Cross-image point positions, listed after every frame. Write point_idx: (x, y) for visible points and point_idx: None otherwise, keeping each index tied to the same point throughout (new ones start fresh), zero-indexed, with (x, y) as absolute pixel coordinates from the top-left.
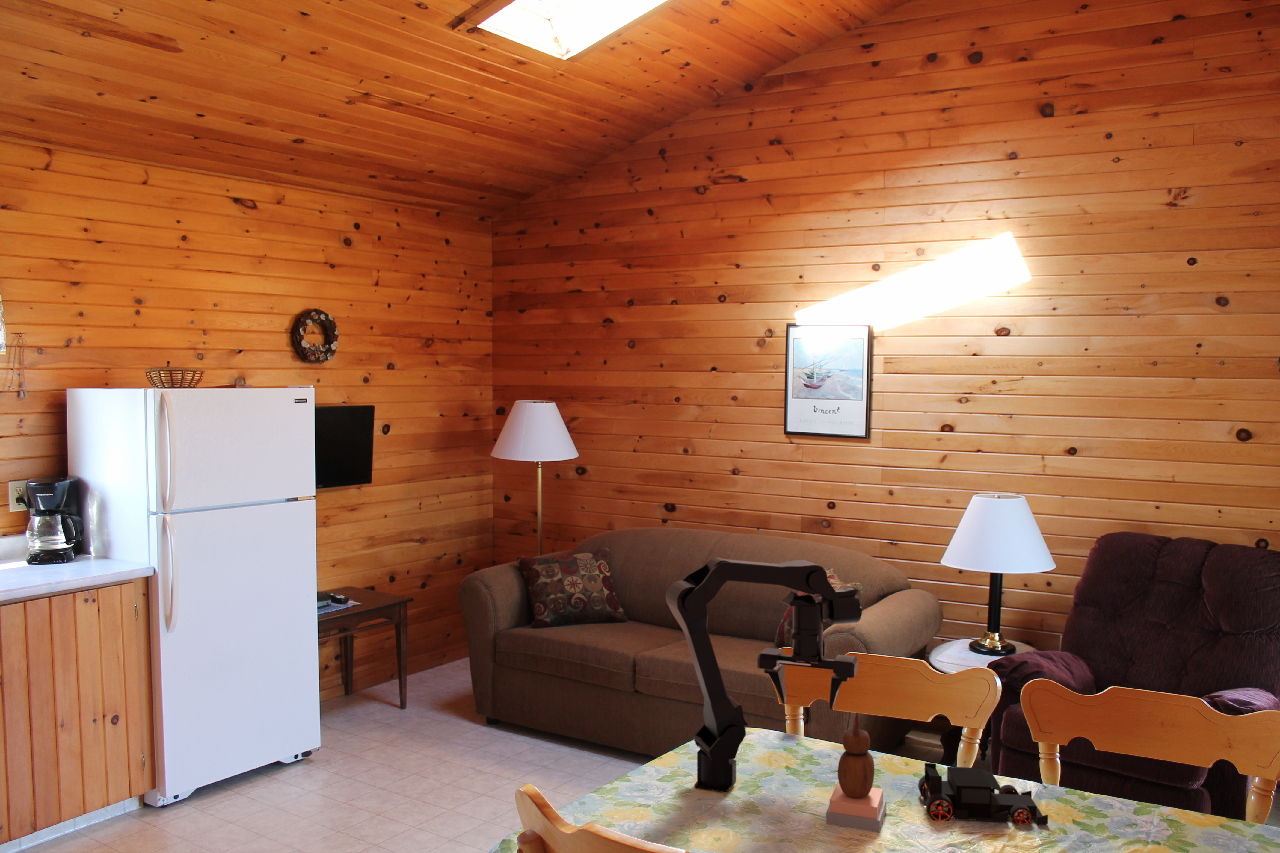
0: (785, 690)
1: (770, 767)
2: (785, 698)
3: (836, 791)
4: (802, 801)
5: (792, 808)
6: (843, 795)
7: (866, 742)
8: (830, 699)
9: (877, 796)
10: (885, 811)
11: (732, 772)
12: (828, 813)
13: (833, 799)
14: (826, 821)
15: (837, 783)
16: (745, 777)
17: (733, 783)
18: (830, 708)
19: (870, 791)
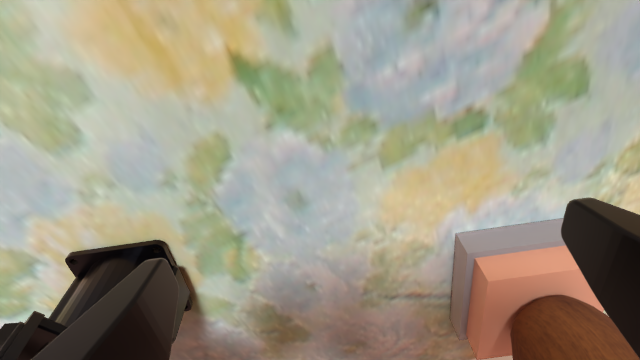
0: (109, 341)
1: (190, 101)
2: (156, 294)
3: (489, 323)
4: (375, 260)
5: (364, 295)
6: (509, 332)
7: None
8: (635, 340)
9: (598, 303)
10: None
11: (180, 322)
12: (463, 338)
13: (485, 354)
14: (452, 322)
15: (488, 287)
16: (171, 208)
17: (186, 288)
18: (571, 246)
19: (582, 290)
